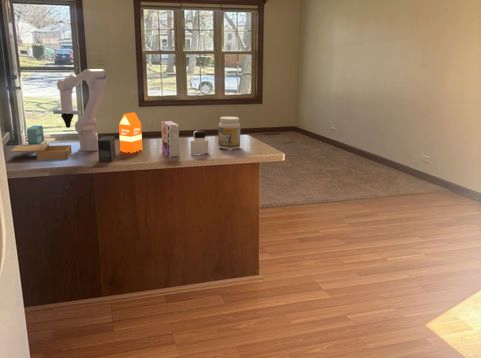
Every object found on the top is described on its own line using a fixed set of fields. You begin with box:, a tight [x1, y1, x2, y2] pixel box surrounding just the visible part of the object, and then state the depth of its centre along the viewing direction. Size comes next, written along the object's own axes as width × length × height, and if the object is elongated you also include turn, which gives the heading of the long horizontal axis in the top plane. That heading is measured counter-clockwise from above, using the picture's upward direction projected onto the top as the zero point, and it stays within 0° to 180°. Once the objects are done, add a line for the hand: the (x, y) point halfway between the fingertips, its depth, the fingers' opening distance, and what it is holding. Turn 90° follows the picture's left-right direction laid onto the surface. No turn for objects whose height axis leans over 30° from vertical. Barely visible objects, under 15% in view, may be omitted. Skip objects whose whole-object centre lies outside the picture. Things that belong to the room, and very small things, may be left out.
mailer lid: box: [10, 140, 50, 153], centre depth 221 cm, size 15×15×3 cm
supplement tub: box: [217, 116, 241, 150], centre depth 248 cm, size 12×12×17 cm
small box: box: [97, 135, 117, 163], centre depth 219 cm, size 11×6×10 cm, turn 5°
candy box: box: [160, 120, 180, 158], centre depth 230 cm, size 14×6×16 cm, turn 23°
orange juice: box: [118, 112, 143, 154], centre depth 237 cm, size 8×9×20 cm
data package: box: [26, 125, 45, 145], centre depth 238 cm, size 12×4×12 cm, turn 7°
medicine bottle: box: [190, 130, 209, 156], centre depth 234 cm, size 7×7×12 cm
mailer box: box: [35, 144, 73, 161], centre depth 224 cm, size 14×14×4 cm
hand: (68, 127), depth 246 cm, fingers closed
